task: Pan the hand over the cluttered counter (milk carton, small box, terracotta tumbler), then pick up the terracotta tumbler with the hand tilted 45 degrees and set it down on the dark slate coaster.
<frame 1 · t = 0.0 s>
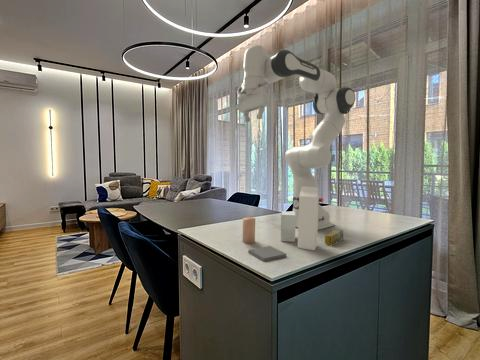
hand: (253, 120, 110), 48 cm above the table, tool pointing down, fingers open, 8 cm apart
coaster: (267, 254, 87), on the table
medication box: (334, 242, 103), on the table
small box: (287, 239, 105), on the table
milk: (307, 247, 96), on the table
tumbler: (248, 241, 101), on the table
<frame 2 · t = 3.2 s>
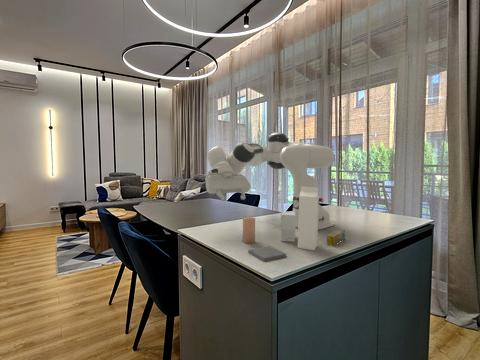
hand: (234, 199, 111), 15 cm above the table, tool tilted 45°, fingers open, 8 cm apart
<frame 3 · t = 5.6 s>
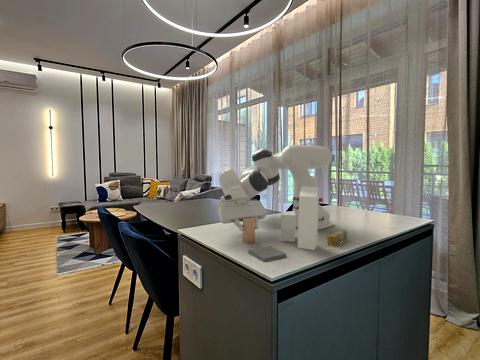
hand: (249, 229, 100), 5 cm above the table, tool tilted 45°, fingers closed on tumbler, 5 cm apart
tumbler: (248, 241, 101), on the table, touching gripper
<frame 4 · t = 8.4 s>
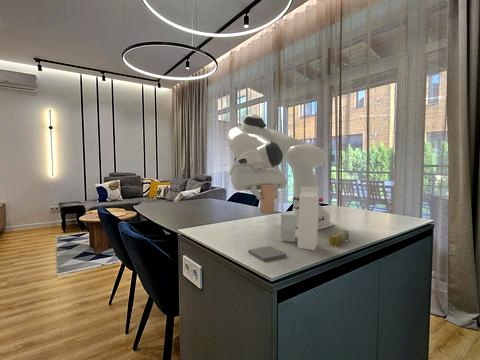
hand: (268, 197, 85), 19 cm above the table, tool tilted 45°, fingers closed on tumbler, 5 cm apart
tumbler: (267, 212, 86), point 14 cm above the table, touching gripper
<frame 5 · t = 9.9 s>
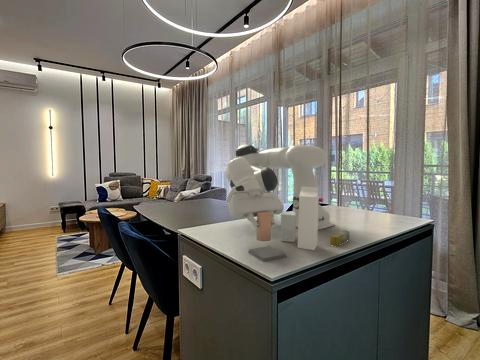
hand: (265, 225, 87), 10 cm above the table, tool tilted 45°, fingers closed on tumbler, 5 cm apart
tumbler: (263, 239, 88), point 5 cm above the table, touching gripper
when the fingers open (7 cm above the table, at t = 11.0 s): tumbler stays where it is, resting on coaster.
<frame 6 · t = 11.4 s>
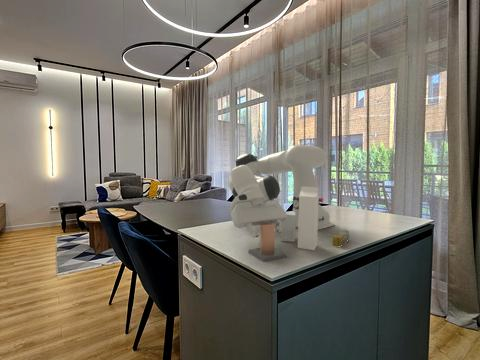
hand: (268, 234, 86), 7 cm above the table, tool tilted 45°, fingers open, 8 cm apart
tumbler: (267, 251, 87), point 1 cm above the table, touching coaster
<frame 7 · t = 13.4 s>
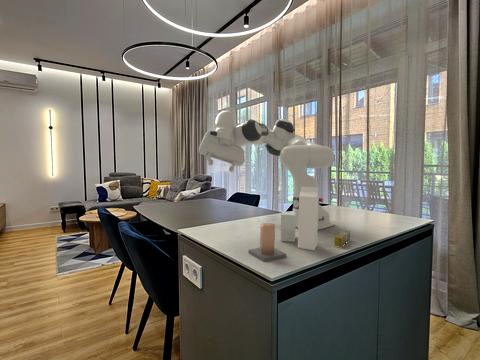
hand: (221, 167, 108), 28 cm above the table, tool tilted 35°, fingers open, 8 cm apart
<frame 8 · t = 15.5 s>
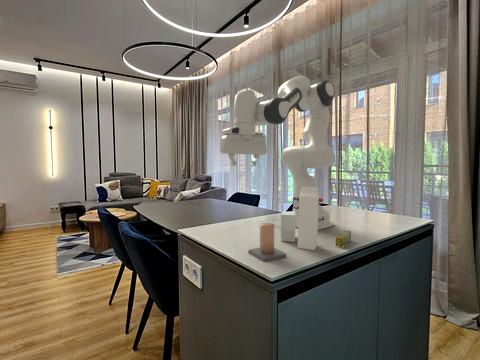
hand: (243, 165, 107), 29 cm above the table, tool pointing down, fingers open, 8 cm apart
at the end: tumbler inside the target area on the coaster (0.1 cm from its centre), point 1.1 cm above the coaster's base; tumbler tilted 1°; the gripper is holding nothing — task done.
